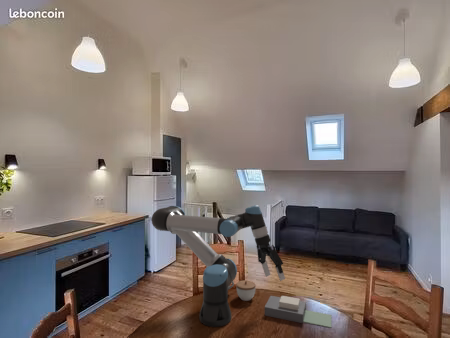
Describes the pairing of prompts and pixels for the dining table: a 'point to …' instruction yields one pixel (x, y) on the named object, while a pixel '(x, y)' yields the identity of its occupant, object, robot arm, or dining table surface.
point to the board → (284, 310)
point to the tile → (289, 302)
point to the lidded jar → (245, 289)
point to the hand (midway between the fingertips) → (275, 277)
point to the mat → (317, 318)
